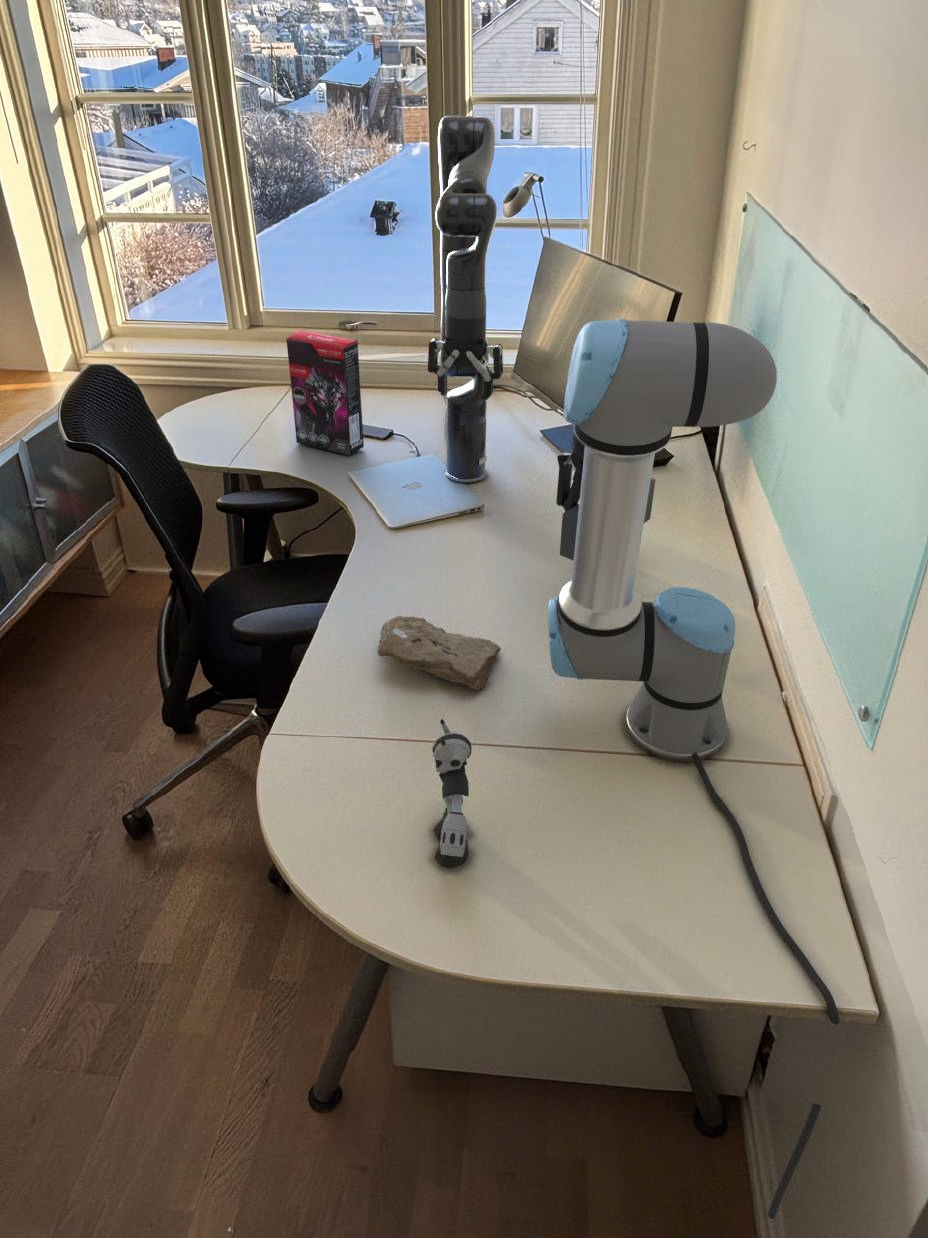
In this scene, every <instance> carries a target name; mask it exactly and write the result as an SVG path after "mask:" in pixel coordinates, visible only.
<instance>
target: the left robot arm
mask: <svg viewBox="0 0 928 1238" xmlns="http://www.w3.org/2000/svg"><path fill="white" fill-rule="evenodd" d="M495 135H496V134H495V126H494V124H493V122H492V120H491V119H490V118H488V117H486V116H481V115H480V116H478V115H477V116H476V115H474V116H473V115H445V116H443V117H442V118H441V119H440V122H439V125H438V134H437V151H438V166H439V169H438V171H439V187H440V197H439V199H438V203H437V204H436V208H435V221H436V222H435V223H436V226H437V228H438V230H439V231H440V240H439V241H440V243H439V258H440V260H439V261H440V262H439V264H440V265H439V266H440V291H441V294H440V295H441V297H440V298H441V306H440V307H441V308H440V311H441V312H440V333H439V335H440V336H439V339H438V338H436V337H434V338H432V339H431V341H429V343H428V352H427V354H428V355H427V372H429V373H433V374H434V375H436V376H437V382H436V385H437V392H438V393H440V396H443V398H444V401H445V417H444V435H445V438H446V442H445V443H446V444H445V445H446V446H445V447H446V450H445V451H446V452H445V453H446V454H445V455H446V456H445V457H446V461H445V462H446V464H445V465H446V466H445V467H446V468H445V469H446V470H445V477H447V479H448V480H450V481H453V482H455V483H456V482H457V483H461V484H462V483H463V484H468V483H471V484H472V483H477V482H479V481H482V480H483V479H484V478H485V477H486V471H487V470H486V463H487V459H488V458H487V457H488V456H487V453H486V451H487V450H486V449H487V410H488V409H487V407H488V406H487V405H488V404H487V401H488V400H489V398H491V397H492V395H493V393H494V380H499V379H500V378H501V377H502V375H503V374H504V357H503V356H504V355H503V354H504V353H503V345H502V344H501V343H497V344H496V345H490V344H489V340H488V338H487V334H486V333H487V293H486V279H487V277H486V276H487V275H486V272H487V271H486V270H487V258H488V251H489V246H490V242H491V240H492V235H493V232H494V229H495V226H496V223H497V218H498V206H497V203H496V201H495V199H494V198H493V196H492V195H490V194H489V193H488V177H489V175H490V172H491V169H492V165H493V162H494V157H495V150H496V149H495V145H496V136H495ZM490 358H492V360H493V361H492V362H493V364H492V365H493V370H492V369H491V367H490V366H489V361H490V360H489V359H490ZM438 359H439V365H438ZM448 378H459V379H460V378H461V379H462V378H463V379H464V378H466V379H470V381H468V382H466V383H465V384H463V385H460V386H458V387H454V388H453V389H451V390H449V391H448ZM446 471H447V472H448V473H449V474H450V475H452V476H454V477H456V478H458V479H456V478H453V477H451V476H449V475H448V474H447V472H446Z"/></svg>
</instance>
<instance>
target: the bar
mask: <svg viewBox="0 0 928 1238" xmlns="http://www.w3.org/2000/svg"><path fill="white" fill-rule="evenodd" d="M655 486H656V479H655V478H653V477H651V481H650V487H649V494H648V500H647V506H646V512H645V519H644V524H645V523H647V522H648V521H649V520H651V516H652V509H653V501H654V494H655V488H656V487H655ZM578 512H579V503H578V505H576V506H574V507H573V508H571V509H569V510H568V511H566V512H565V511H564V512H562V517H561V531H560V543H559V556H561V557H563V558H566V559H568V560H570V561H573V562H574V552H575V542H576V532H577V522H578Z"/></svg>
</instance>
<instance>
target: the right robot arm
mask: <svg viewBox="0 0 928 1238" xmlns="http://www.w3.org/2000/svg"><path fill="white" fill-rule="evenodd" d="M777 372H778V371H777V366H776V362H775V360H774V358H773V356H772V354H771V352H770V351H769V350H768V348H767V347H766V346H765V345H764V343H762V342H761V340H759V339H758V338H756V337H754V336H753V335H752V334H750V333H748V332H746V331H745V330H742V329H740V328H738V327H735V326H732V325H728V324H725V323H719V322H711V321H708V322H707V321H705V322H703V321H702V322H693V321H692V322H691V321H690V322H689V321H686V322H685V321H661V320H660V321H658V320H657V321H655V320H654V321H653V320H627V318H617V319H615V320H612V319H611V320H593V321H590V322H587V323H586V324H584V325H583V327H582V328H581V329H580V330H579V333H578V334H577V337H576V340H575V343H574V345H573V350H572V354H571V358H570V362H569V367H568V373H567V382H566V387H565V393H564V401H563V417H564V420H565V421H566V422H567V423H569V424H571V425H572V426H573V430H572V441H571V452H570V451H564V452H563V453H561V454H558V455H557V457H556V460H557V463H558V464H557V465H558V477H557V487H556V489H557V491H556V499H555V500H556V502H555V503H556V505H557V506H559V507H562V508H563V510H564V512H566V511H568V510H569V509H571V508H573V507H574V506H576V505H578V504H579V512H578V522H577V532H576V542H575V552H574V561H573V563H572V574H571V579H570V580H569V581H568V582H566V583H565V584H564V585H563V586H562V588H561V590H560V592H559V596H556V597H552V598H550V599H549V600H548V603H547V619H548V620H547V625H548V627H547V628H548V643H549V644H548V645H549V655H550V664H551V669H552V671H553V673H554V674H556V675H557V676H559V677H562V678H568V679H569V678H570V679H576V680H596V681H597V680H598V681H599V680H601V681H623V682H625V681H626V682H642V684H641V685H640V688H639V689H638V691H637V692H636V694H635V695H634V697H633V699H632V701H631V702H630V704H629V706H628V708H627V711H626V719H625V728H626V732H627V734H628V736H629V738H630V739H631V741H632V742H634V744H636V745H637V746H638V747H639V748H640V749H641V750H643V751H645V752H646V753H648V754H650V755H651V756H654V757H656V758H659V759H662V760H666V761H670V762H675V763H694V765H695V767H696V769H697V771H698V774H699V776H700V779H701V780H702V783H703V785H704V787H705V789H706V791H707V793H708V794H709V796H710V797H711V799H712V800H713V802H714V803H715V804H716V806H717V807H718V808H719V810H720V811H721V813H722V814H723V815H724V816H725V818H726V819H727V821H728V823H729V824H730V826H731V828H732V830H733V833H734V834H735V837H736V841H737V842H738V846H739V849H740V853H741V854H740V855H741V856H742V857H741V858H742V859H743V860H742V861H743V863H744V867H745V869H746V871H747V874H748V876H749V879H750V881H751V883H752V886H753V888H754V890H755V893H756V895H757V897H758V899H759V902H760V903H761V906H762V908H763V909H764V911H765V913H766V915H767V917H768V919H769V920H770V922H771V924H772V925H773V927H774V929H775V930H776V931H777V933H778V935H779V936H780V937H781V939H782V940H783V941H784V943H785V944H786V945H787V947H788V948H789V950H790V951H791V952H792V954H793V955H794V956H795V958H796V959H797V961H798V962H799V964H800V965H801V966H802V968H803V969H804V971H805V972H806V973H807V975H808V977H809V978H810V980H811V981H812V983H813V984H814V986H815V987H816V988H817V989H818V991H819V993H820V994H821V997H822V998H823V1000H824V1002H825V1005H826V1009H827V1012H828V1016H829V1020H830V1022H831V1023H832V1024H833V1025H837V1026H838V1025H839V1024H840V1018H839V1012H838V1008H837V1005H836V1002H835V999H834V997H833V995H832V992H831V991H830V989H829V988H828V986H827V984H826V983H825V982H824V981H823V979H822V978H821V977H820V975H819V974H818V973H817V971H816V969H815V968H814V967H813V965H812V963H811V962H810V960H809V959H808V957H807V956H806V955H805V954H804V951H802V949H801V948H800V946H799V945H798V944H797V943H796V941H795V940H794V939H793V937H792V936H791V935H790V934H789V932H788V931H787V929H786V928H785V926H784V925H783V923H782V922H781V920H780V919H779V917H778V915H777V913H776V911H775V909H774V908H773V906H772V904H771V902H770V901H769V898H768V896H767V894H766V892H765V890H764V888H763V885H762V883H761V881H760V878H759V876H758V873H757V872H756V869H755V866H754V863H753V861H752V858H751V854H750V851H749V848H748V844H747V841H746V838H745V835H744V832H743V830H742V828H741V826H740V825H739V822H738V820H737V819H736V817H735V816H734V814H733V812H731V810H730V809H729V807H728V806H727V805H726V804H725V802H724V801H723V799H722V798H721V797H720V796H719V794H718V793H717V791H716V790H715V788H714V786H713V784H712V782H711V780H710V778H709V775H708V773H707V770H706V767H704V764H703V762H702V761H703V760H706V759H709V758H711V757H714V755H716V754H718V752H720V751H721V750H722V748H723V747H724V744H725V743H726V740H727V739H726V738H727V734H728V721H727V716H726V712H725V708H724V707H725V706H724V701H723V692H724V686H725V682H726V678H727V672H728V668H729V664H730V659H731V654H732V651H733V649H734V646H735V632H736V620H735V617H734V614H733V612H732V611H731V609H730V608H729V607H728V606H727V605H726V604H725V603H724V602H723V601H722V600H720V599H718V598H717V597H715V596H714V595H712V594H710V593H708V592H705V591H702V590H699V589H696V588H691V587H687V586H685V587H684V586H674V587H673V586H672V587H669V588H667V589H664V590H662V591H660V592H659V593H658V594H657V596H656V597H655V598H654V600H653V601H652V602H651V601H642V598H641V595H640V593H639V591H638V590H637V589H636V588H635V587H634V586H635V582H636V575H637V567H638V564H639V563H638V562H639V555H640V550H641V543H642V537H643V530H644V525H645V523H644V519H645V512H646V506H647V500H648V494H649V487H650V481H651V478H652V474H653V469H654V462H655V455H656V454H657V453H658V452H660V451H662V450H664V449H665V448H666V447H667V446H668V445H669V443H670V441H671V437H672V432H673V428H711V427H719V426H720V427H721V426H725V425H731V424H736V423H737V424H738V423H741V422H744V421H746V420H748V419H750V418H753V417H754V416H756V415H758V414H759V413H760V412H762V411H763V410H764V409H765V408H766V407H767V405H768V404H769V403H770V401H771V399H772V397H773V396H774V393H775V390H776V387H777V379H778V375H777ZM573 468H574V469H575V470H574V473H573ZM572 476H573V477H572ZM822 1107H823V1105H821V1104H817V1103H814V1102H812V1104H811V1107H810V1110H809V1113H808V1115H807V1119H806V1120H805V1123H804V1127H803V1128H802V1131H801V1133H800V1136H799V1138H798V1140H797V1143H796V1145H795V1147H794V1150H793V1152H792V1154H791V1157H790V1158H789V1160H788V1163H787V1165H786V1168H785V1170H784V1172H783V1174H782V1177H781V1178H780V1181H779V1184H778V1185H777V1188H776V1190H775V1193H774V1195H773V1198H772V1201H771V1204H770V1206H769V1208H768V1212H767V1216H768V1218H769V1219H771V1220H774V1219H776V1217H777V1213H778V1211H779V1208H780V1206H781V1204H782V1201H783V1199H784V1196H785V1193H786V1191H787V1189H788V1186H789V1184H790V1182H791V1180H792V1178H793V1175H794V1173H795V1171H796V1169H797V1167H798V1165H799V1162H800V1161H801V1158H802V1156H803V1154H804V1151H805V1150H806V1147H807V1144H808V1142H809V1140H810V1138H811V1136H812V1133H813V1130H814V1128H815V1125H816V1123H817V1120H818V1118H819V1115H820V1112H821V1109H822Z"/></svg>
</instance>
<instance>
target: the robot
mask: <svg viewBox="0 0 928 1238" xmlns="http://www.w3.org/2000/svg"><path fill="white" fill-rule="evenodd" d="M439 722H440V725H441V727H442V730H443V733H444V734H442V735H441V736H439V737H438V738H437V739H436V740H435V741H434V742H433V745H432V747H431V752H432V757H433V758H434V761H435V771H436V772H437V773H439V774H438V776H439V779H440V781H441V783H442V785H441V792H442V794H441V795H442V799H443V801H444V802H445V805H446V807H445V808H444V812H443V813H442V816H441V819H440V820H439V821H438V823H437V824H435V826H434V828H433V833H434V834H435V836H436V838H437V839H438V840H439V841H440V842H439V845H438V848H437V849H436V852H435V855H434V859H435V860H436V861H437V862H438V863H439V865H441V866H443V867H447V868H453V867H457V866H459V865H461V864H463V863H466V862H467V859H468V856H469V854H470V853H469V844H468V840H467V837H468V823H467V818H466V815H464V813H463V810H462V806H463V804H464V798H463V797H469V795H470V794H469V793H470V788H469V787H470V786H469V779H468V776H467V774H466V766H467V765H468V762H467V760H468V759H469V758H470V757H471V755H472V749H473V748H472V743H471V741H470V739H468V738H467V736H465V735H464V734H462V733H460V732H457V731H450V729H449V727H448V725H447V723H446V722H445V720H444V719H443V718H441V719H440V720H439Z"/></svg>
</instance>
